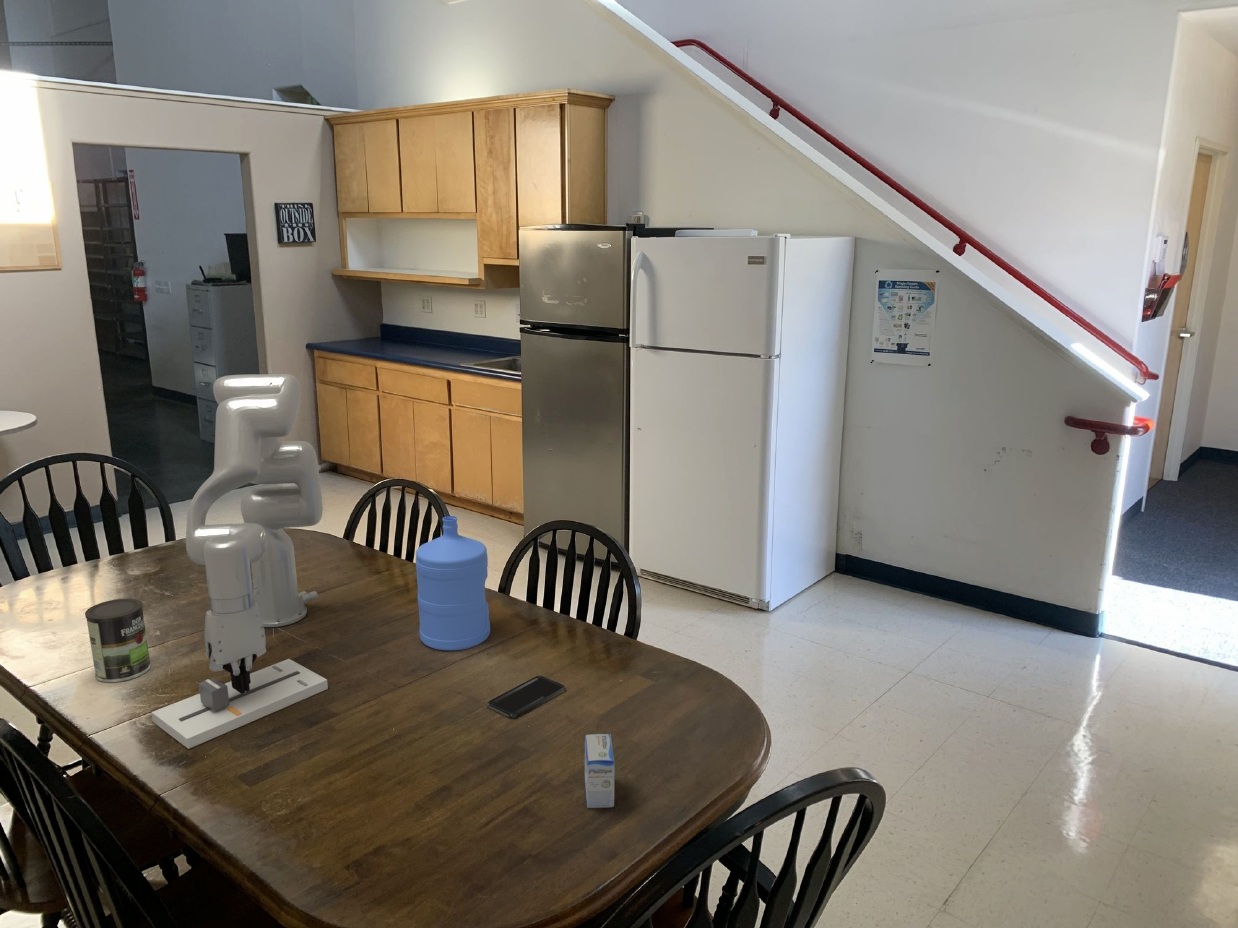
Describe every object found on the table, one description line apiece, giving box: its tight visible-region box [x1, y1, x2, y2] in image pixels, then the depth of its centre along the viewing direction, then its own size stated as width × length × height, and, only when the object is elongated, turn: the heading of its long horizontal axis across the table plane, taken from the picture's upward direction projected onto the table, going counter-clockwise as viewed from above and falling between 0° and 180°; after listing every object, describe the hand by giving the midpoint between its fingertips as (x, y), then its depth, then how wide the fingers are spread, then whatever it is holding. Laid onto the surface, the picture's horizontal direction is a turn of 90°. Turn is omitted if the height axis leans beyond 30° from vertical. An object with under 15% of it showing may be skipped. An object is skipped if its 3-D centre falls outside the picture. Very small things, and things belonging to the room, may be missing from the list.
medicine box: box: [584, 733, 616, 809], centre depth 146 cm, size 8×4×9 cm, turn 5°
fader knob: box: [198, 677, 230, 711], centre depth 169 cm, size 3×5×4 cm, turn 50°
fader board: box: [151, 658, 329, 750], centre depth 174 cm, size 28×14×2 cm, turn 140°
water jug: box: [415, 515, 491, 651], centre depth 200 cm, size 16×16×28 cm
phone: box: [486, 675, 566, 720], centre depth 177 cm, size 8×1×15 cm
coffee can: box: [84, 598, 152, 683], centre depth 186 cm, size 10×10×14 cm
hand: (241, 689), depth 174 cm, fingers closed
